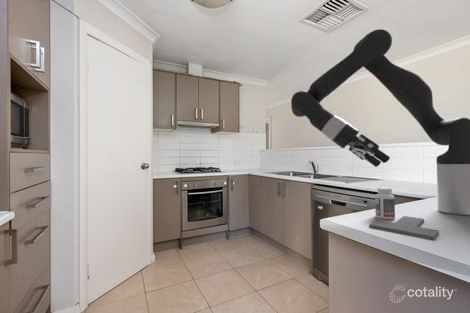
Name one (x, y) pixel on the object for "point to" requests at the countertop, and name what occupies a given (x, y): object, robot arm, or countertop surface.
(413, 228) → the t mat
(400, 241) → the countertop surface
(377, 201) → the pill bottle
